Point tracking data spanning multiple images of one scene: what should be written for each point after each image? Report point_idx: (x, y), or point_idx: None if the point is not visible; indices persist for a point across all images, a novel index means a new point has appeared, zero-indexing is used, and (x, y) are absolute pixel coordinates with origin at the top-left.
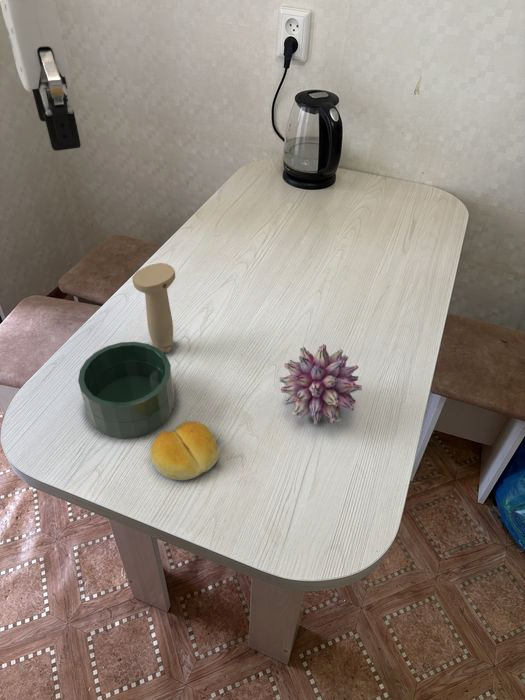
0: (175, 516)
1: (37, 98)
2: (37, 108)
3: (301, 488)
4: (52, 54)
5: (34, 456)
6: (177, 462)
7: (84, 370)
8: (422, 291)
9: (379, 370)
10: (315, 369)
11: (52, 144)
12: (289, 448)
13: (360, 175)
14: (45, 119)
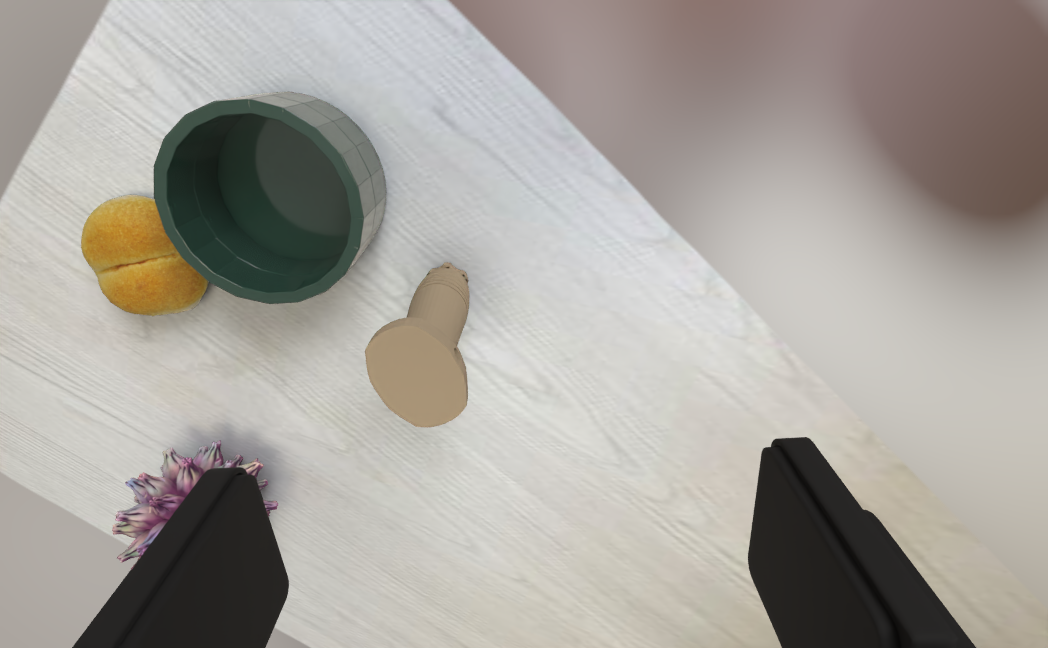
0: (31, 204)
1: (836, 577)
2: (814, 495)
3: (76, 397)
4: None
5: None
6: (87, 243)
7: (279, 119)
8: None
9: (297, 579)
10: (141, 543)
11: (197, 492)
12: (154, 408)
13: None
14: (75, 643)
